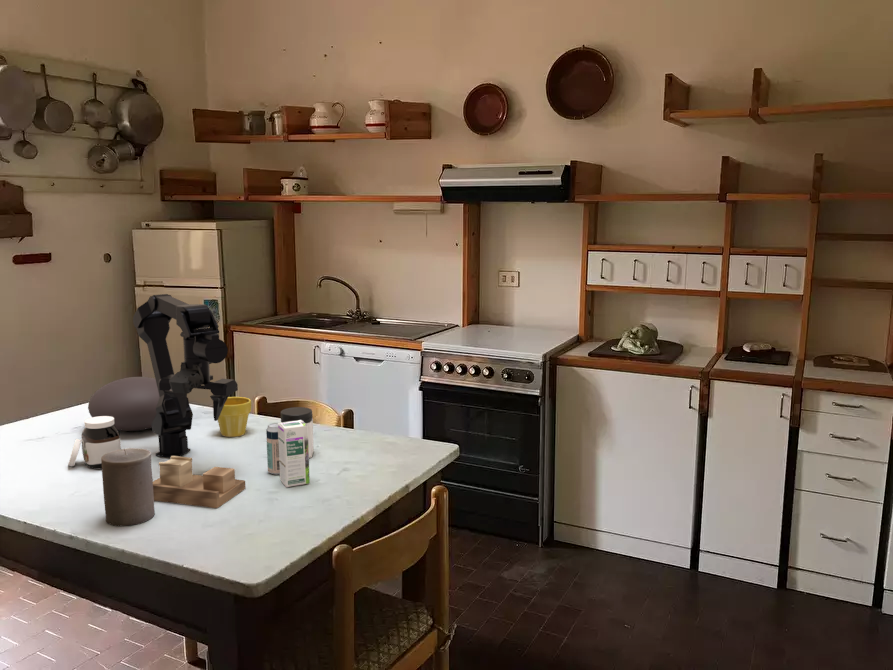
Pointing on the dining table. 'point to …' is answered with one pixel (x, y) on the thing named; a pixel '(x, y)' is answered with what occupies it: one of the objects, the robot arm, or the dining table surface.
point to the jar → (305, 416)
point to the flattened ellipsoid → (127, 402)
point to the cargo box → (219, 479)
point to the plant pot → (234, 416)
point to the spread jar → (96, 441)
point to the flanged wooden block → (176, 471)
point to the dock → (195, 493)
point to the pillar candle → (127, 486)
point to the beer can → (273, 449)
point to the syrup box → (293, 453)
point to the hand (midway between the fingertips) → (199, 418)
